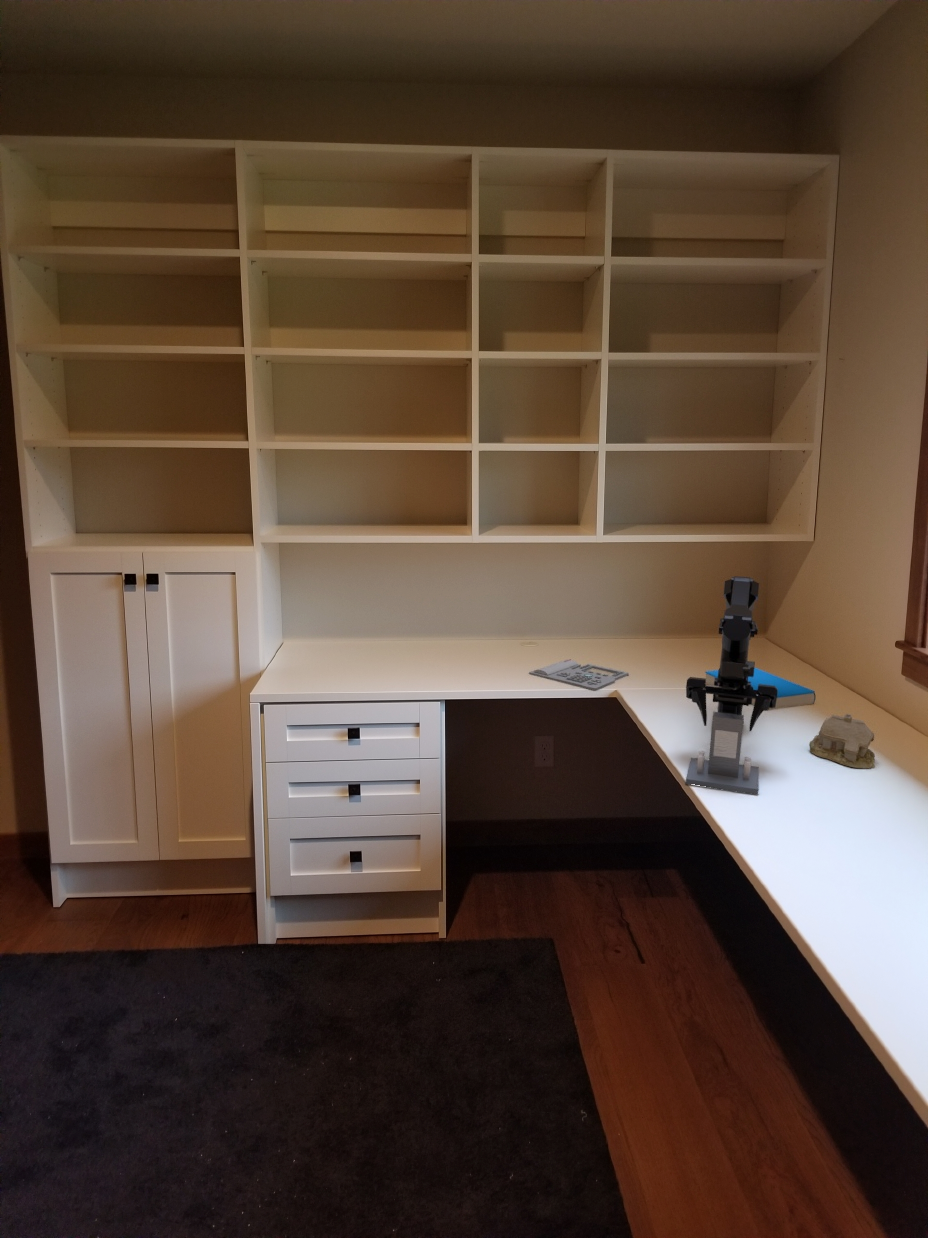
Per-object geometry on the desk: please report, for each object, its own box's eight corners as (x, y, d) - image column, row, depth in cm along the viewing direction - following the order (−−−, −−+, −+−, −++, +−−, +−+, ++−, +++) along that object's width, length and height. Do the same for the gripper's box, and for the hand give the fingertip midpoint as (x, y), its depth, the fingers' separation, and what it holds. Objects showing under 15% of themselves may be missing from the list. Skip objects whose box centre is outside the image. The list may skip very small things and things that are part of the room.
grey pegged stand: (690, 762, 182) (691, 742, 180) (758, 772, 177) (760, 751, 176) (685, 784, 170) (687, 763, 169) (757, 795, 166) (760, 773, 165)
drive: (708, 767, 176) (713, 711, 173) (738, 772, 174) (743, 715, 171) (707, 774, 173) (712, 716, 170) (737, 778, 171) (743, 720, 168)
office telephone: (528, 667, 245) (567, 654, 259) (527, 676, 245) (567, 662, 260) (595, 683, 229) (633, 668, 244) (594, 692, 230) (632, 677, 245)
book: (766, 698, 215) (704, 670, 238) (764, 713, 216) (703, 684, 239) (817, 690, 222) (752, 664, 244) (815, 706, 223) (750, 678, 245)
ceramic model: (882, 757, 186) (888, 715, 184) (869, 773, 178) (875, 729, 175) (817, 742, 195) (821, 701, 193) (801, 756, 186) (806, 714, 184)
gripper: (690, 641, 181) (682, 705, 174) (781, 650, 175) (777, 716, 168) (690, 666, 190) (682, 728, 183) (777, 675, 185) (772, 739, 177)
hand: (727, 727), depth 177 cm, fingers open, 9 cm apart
